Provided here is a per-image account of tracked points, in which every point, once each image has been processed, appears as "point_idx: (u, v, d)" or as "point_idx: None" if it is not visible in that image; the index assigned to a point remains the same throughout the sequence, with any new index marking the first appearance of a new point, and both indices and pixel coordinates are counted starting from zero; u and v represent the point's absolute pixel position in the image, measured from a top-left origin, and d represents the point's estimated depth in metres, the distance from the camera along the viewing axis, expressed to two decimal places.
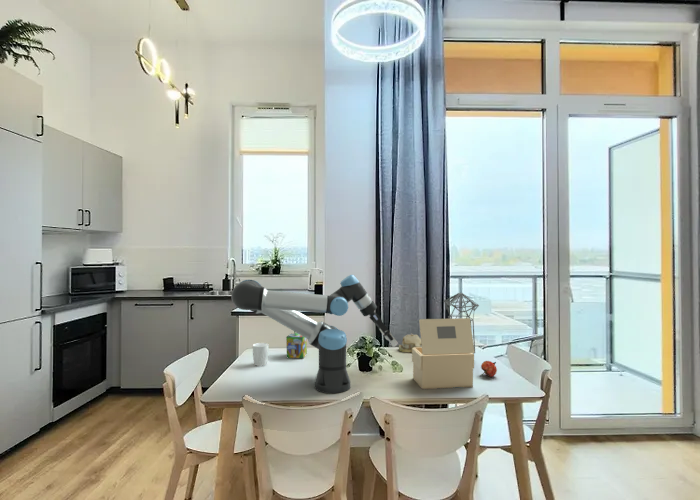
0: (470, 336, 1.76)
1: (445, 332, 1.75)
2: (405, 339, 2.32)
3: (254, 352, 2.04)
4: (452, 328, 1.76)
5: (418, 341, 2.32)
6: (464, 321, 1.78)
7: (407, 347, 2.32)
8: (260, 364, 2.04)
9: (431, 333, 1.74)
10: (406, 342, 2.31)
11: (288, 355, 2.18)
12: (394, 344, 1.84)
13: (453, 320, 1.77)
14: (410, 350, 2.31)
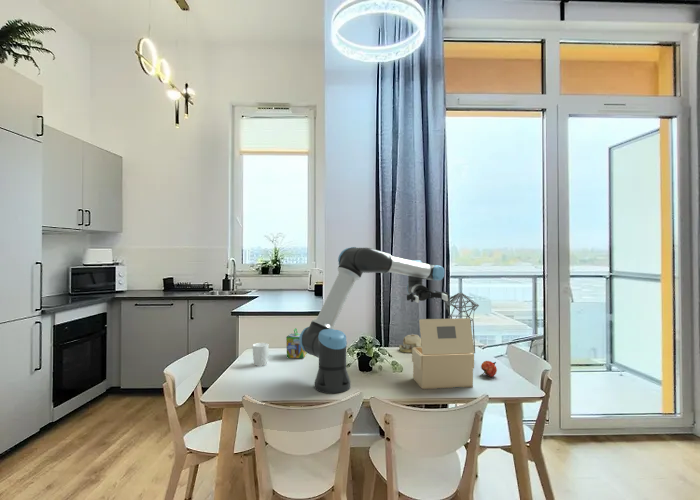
0: (470, 336, 1.76)
1: (445, 332, 1.75)
2: (406, 339, 2.32)
3: (254, 352, 2.04)
4: (452, 328, 1.76)
5: (419, 341, 2.32)
6: (464, 321, 1.78)
7: (408, 347, 2.31)
8: (260, 364, 2.04)
9: (431, 333, 1.74)
10: (407, 342, 2.31)
11: (288, 355, 2.18)
12: None
13: (453, 320, 1.77)
14: (411, 350, 2.30)
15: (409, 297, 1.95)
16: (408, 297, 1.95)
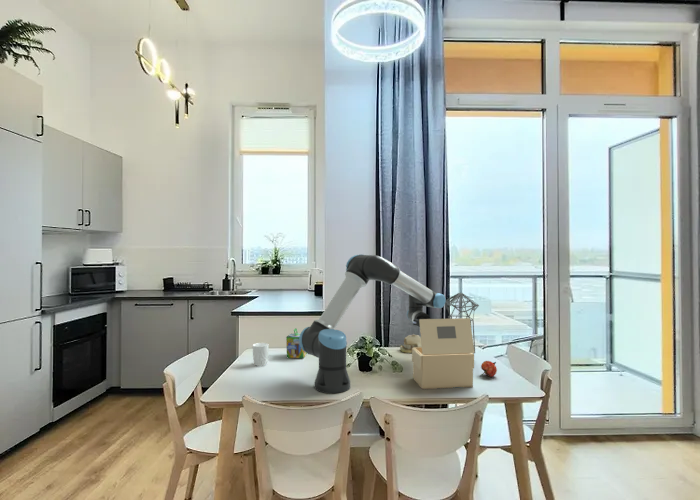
0: (470, 336, 1.76)
1: (445, 332, 1.75)
2: (407, 339, 2.31)
3: (254, 352, 2.04)
4: (452, 328, 1.76)
5: (419, 341, 2.31)
6: (464, 321, 1.78)
7: (409, 347, 2.31)
8: (260, 364, 2.04)
9: (431, 333, 1.74)
10: (408, 342, 2.30)
11: (288, 355, 2.18)
12: None
13: (453, 320, 1.77)
14: None
15: None
16: None
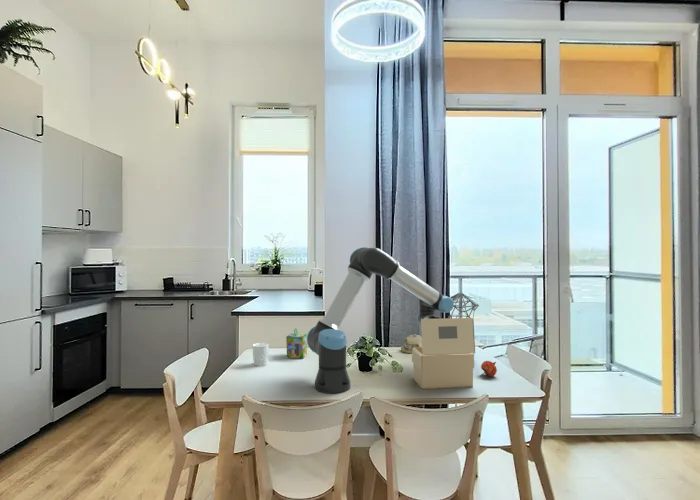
0: (471, 336, 1.74)
1: (446, 332, 1.73)
2: (408, 340, 2.30)
3: (254, 352, 2.04)
4: (454, 328, 1.74)
5: (421, 341, 2.31)
6: (466, 321, 1.75)
7: (410, 348, 2.30)
8: (260, 364, 2.04)
9: (432, 333, 1.73)
10: (409, 343, 2.29)
11: (288, 355, 2.18)
12: None
13: (455, 320, 1.75)
14: None
15: None
16: None
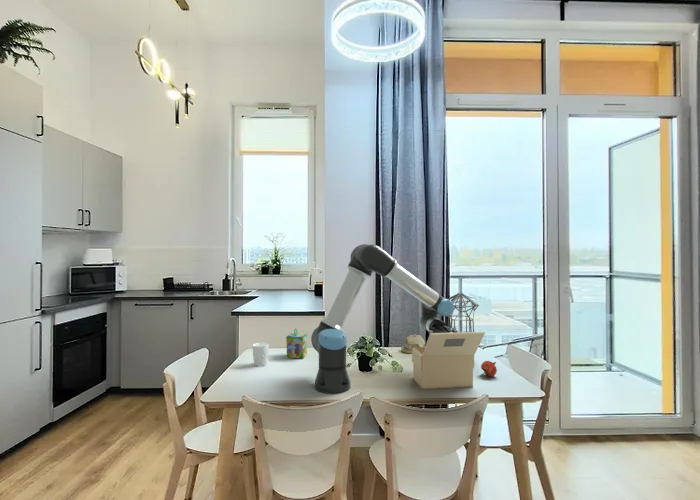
0: (477, 344, 1.69)
1: (453, 342, 1.66)
2: (408, 340, 2.30)
3: (254, 352, 2.04)
4: (462, 340, 1.66)
5: (421, 342, 2.31)
6: (477, 335, 1.65)
7: (410, 348, 2.30)
8: (260, 364, 2.04)
9: (438, 343, 1.66)
10: (410, 343, 2.29)
11: (288, 355, 2.18)
12: None
13: (466, 334, 1.64)
14: None
15: None
16: None
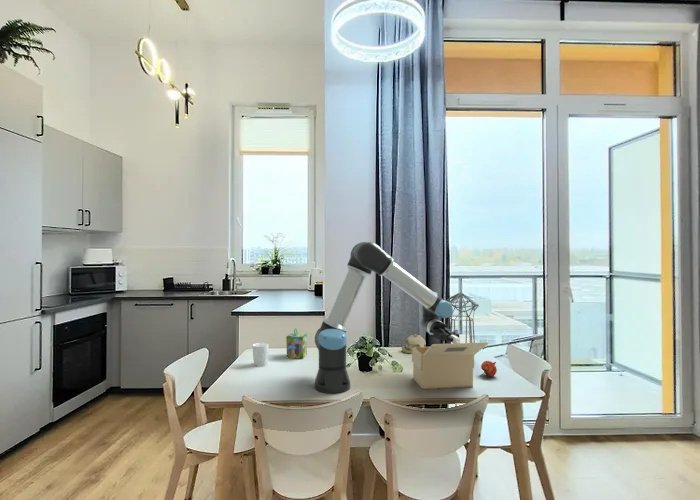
0: (478, 350, 1.68)
1: (454, 349, 1.65)
2: (409, 340, 2.30)
3: (254, 352, 2.04)
4: (464, 348, 1.64)
5: (422, 342, 2.30)
6: (480, 345, 1.62)
7: (411, 348, 2.30)
8: (260, 364, 2.04)
9: (439, 350, 1.64)
10: (410, 343, 2.29)
11: (288, 355, 2.18)
12: None
13: (469, 345, 1.61)
14: None
15: (445, 337, 1.69)
16: (445, 337, 1.70)
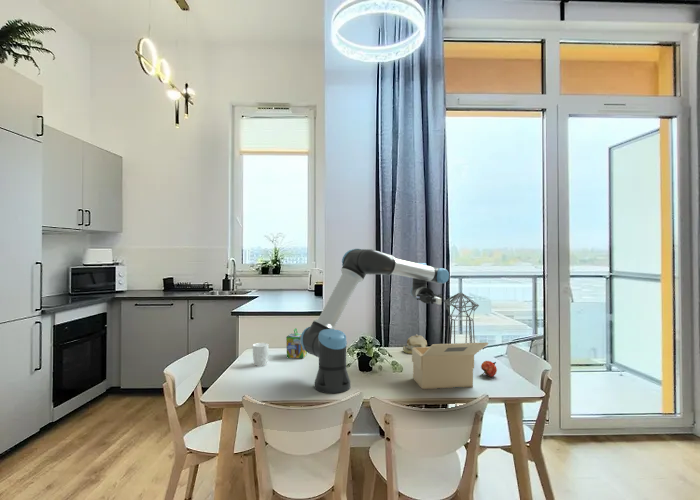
0: (478, 350, 1.68)
1: (454, 349, 1.65)
2: (411, 340, 2.29)
3: (254, 352, 2.04)
4: (464, 348, 1.64)
5: (423, 342, 2.30)
6: (480, 345, 1.62)
7: None
8: (260, 364, 2.04)
9: (439, 350, 1.64)
10: (412, 343, 2.28)
11: (288, 355, 2.18)
12: None
13: (469, 345, 1.61)
14: None
15: (429, 299, 1.92)
16: (429, 299, 1.93)
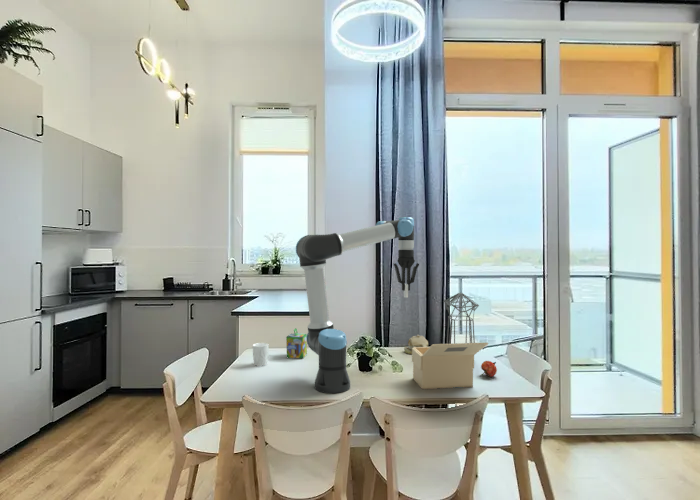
0: (478, 350, 1.68)
1: (454, 349, 1.65)
2: (412, 341, 2.28)
3: (254, 352, 2.04)
4: (464, 348, 1.64)
5: (424, 342, 2.29)
6: (480, 345, 1.62)
7: None
8: (260, 364, 2.04)
9: (439, 350, 1.64)
10: (413, 344, 2.27)
11: (288, 355, 2.18)
12: None
13: (469, 345, 1.61)
14: None
15: None
16: None
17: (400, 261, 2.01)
